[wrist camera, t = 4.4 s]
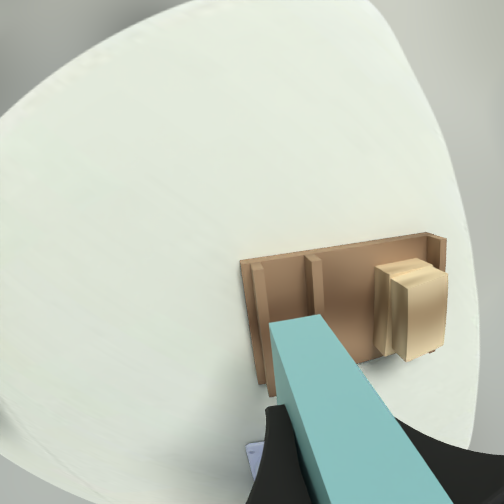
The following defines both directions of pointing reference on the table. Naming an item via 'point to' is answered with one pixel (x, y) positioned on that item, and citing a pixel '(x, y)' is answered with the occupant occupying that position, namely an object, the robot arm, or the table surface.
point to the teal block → (344, 423)
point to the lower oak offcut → (388, 300)
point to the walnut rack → (326, 291)
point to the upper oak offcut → (418, 311)
